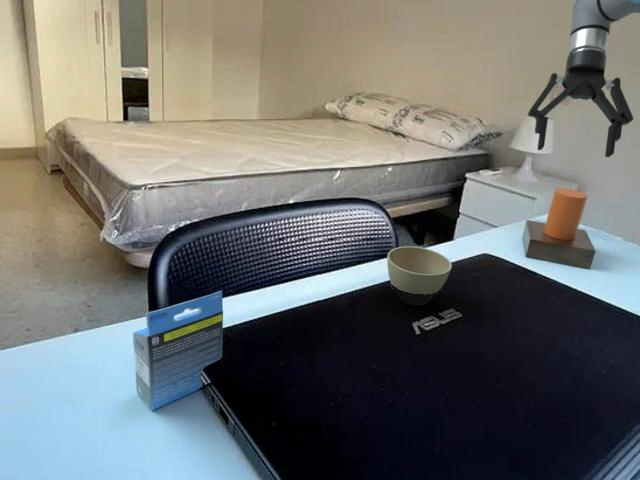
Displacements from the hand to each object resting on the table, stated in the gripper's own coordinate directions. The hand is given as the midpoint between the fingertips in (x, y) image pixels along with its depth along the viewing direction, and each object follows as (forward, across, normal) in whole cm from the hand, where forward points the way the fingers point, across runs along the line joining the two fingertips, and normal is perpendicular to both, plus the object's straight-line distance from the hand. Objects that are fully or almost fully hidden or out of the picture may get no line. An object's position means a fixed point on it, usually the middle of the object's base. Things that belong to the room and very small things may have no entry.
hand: (574, 151), depth 106 cm
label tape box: (+51, +53, +56) cm, 92 cm away
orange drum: (+18, +1, +2) cm, 18 cm away
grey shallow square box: (+22, +2, 0) cm, 22 cm away
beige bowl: (+36, +29, +28) cm, 54 cm away
